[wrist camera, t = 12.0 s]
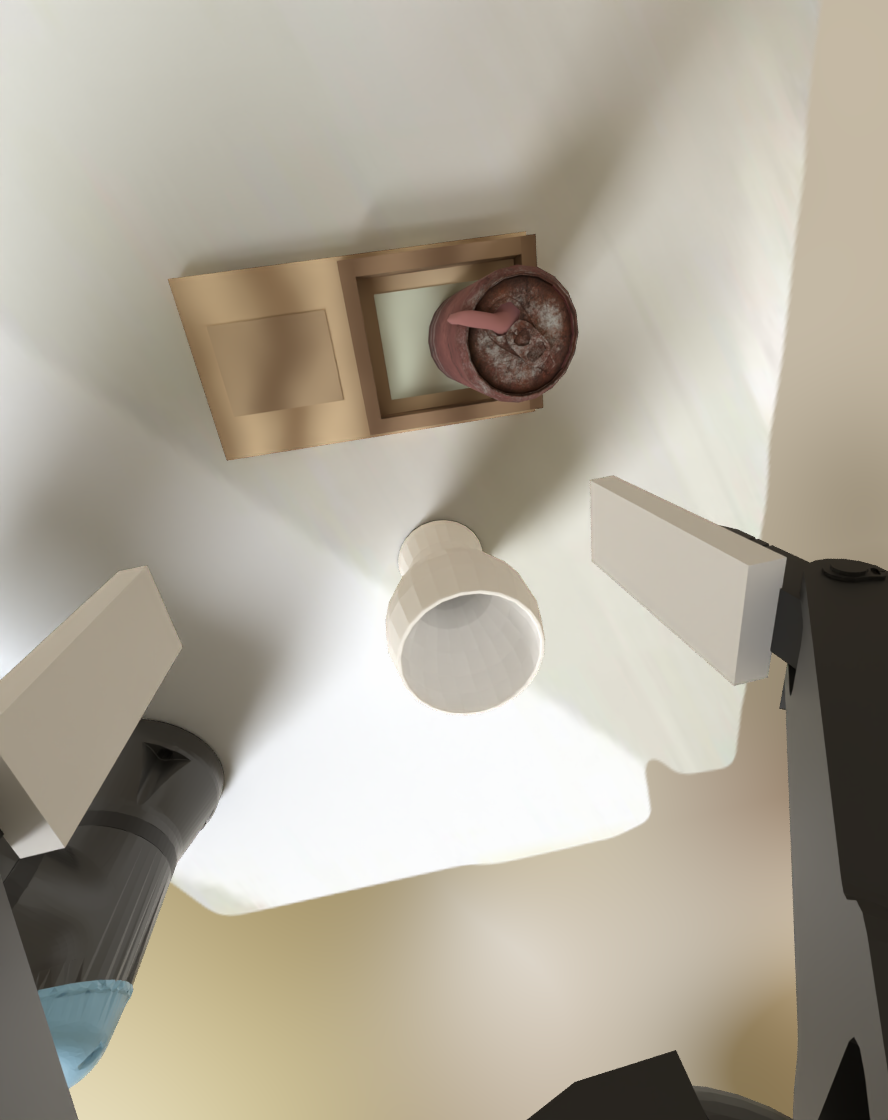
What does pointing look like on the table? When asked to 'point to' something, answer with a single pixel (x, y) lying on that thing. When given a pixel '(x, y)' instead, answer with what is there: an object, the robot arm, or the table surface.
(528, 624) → the cup
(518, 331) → the can
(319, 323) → the holder board
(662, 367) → the table surface
